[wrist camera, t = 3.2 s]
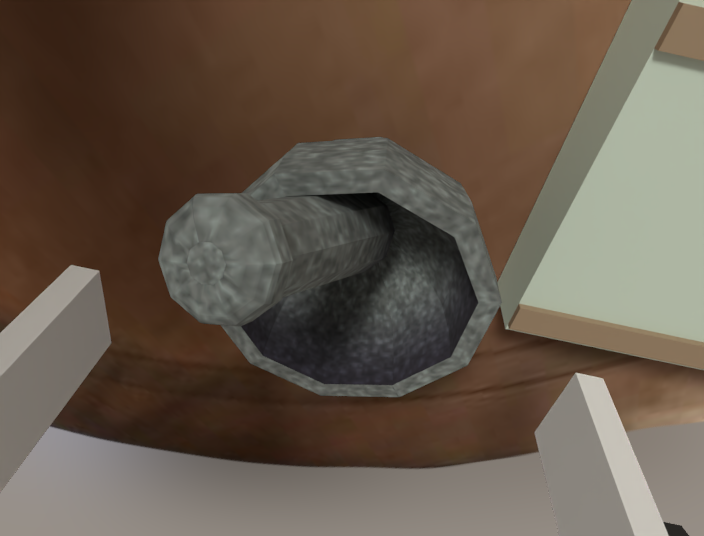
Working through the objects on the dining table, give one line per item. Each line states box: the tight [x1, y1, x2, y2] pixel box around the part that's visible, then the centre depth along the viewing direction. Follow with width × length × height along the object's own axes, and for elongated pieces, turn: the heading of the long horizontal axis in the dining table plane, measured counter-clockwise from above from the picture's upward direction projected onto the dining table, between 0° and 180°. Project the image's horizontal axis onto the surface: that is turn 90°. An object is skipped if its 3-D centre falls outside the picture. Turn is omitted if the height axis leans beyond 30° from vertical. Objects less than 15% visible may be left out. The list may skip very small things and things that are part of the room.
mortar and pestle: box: [158, 137, 502, 397], centre depth 16 cm, size 11×9×12 cm
